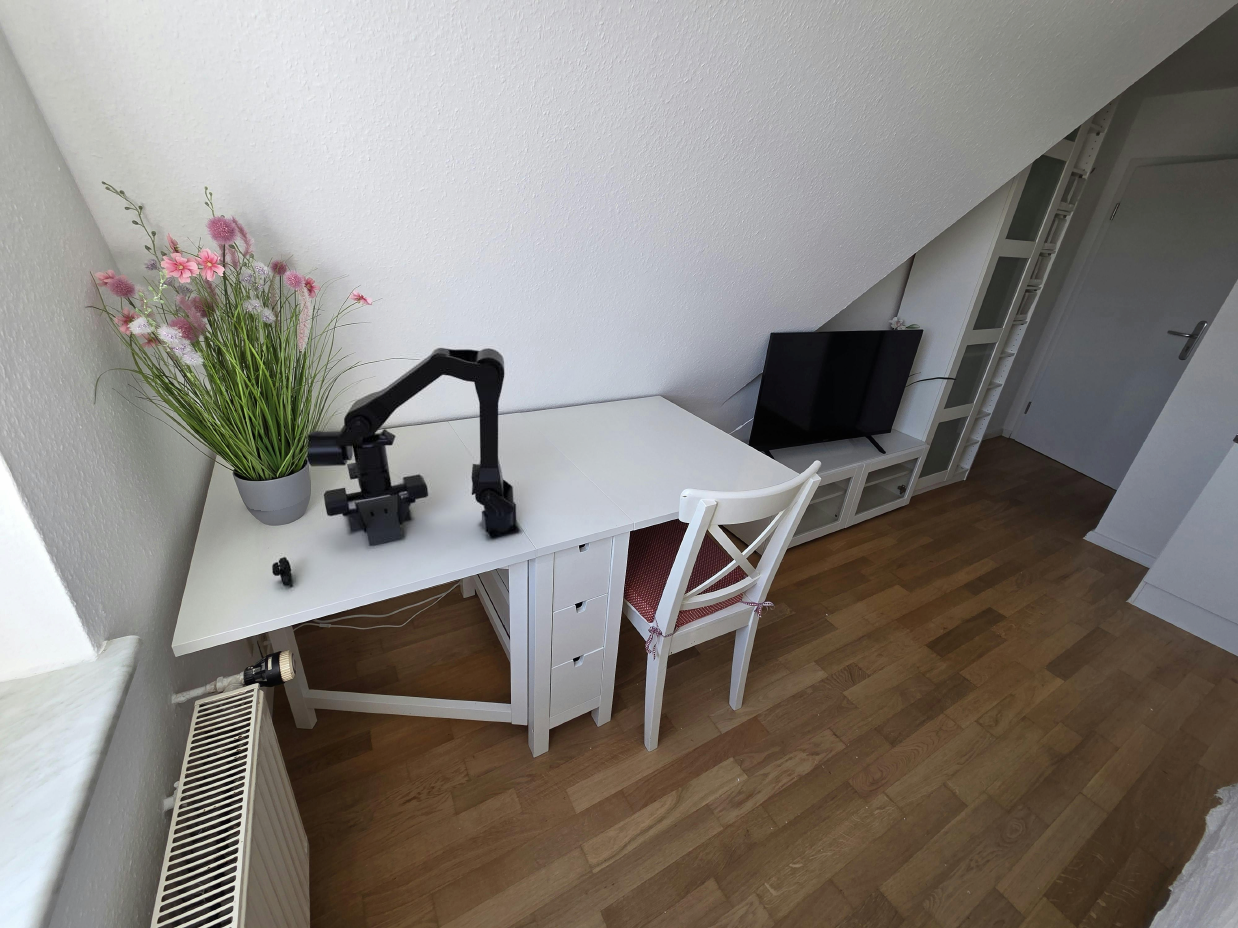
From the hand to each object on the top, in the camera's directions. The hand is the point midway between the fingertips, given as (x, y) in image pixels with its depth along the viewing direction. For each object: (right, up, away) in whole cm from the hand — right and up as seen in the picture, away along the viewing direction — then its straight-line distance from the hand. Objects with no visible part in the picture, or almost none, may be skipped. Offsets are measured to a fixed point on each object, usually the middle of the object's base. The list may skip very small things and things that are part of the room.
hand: (383, 528), depth 108 cm
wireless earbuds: (-12, -9, -14) cm, 20 cm away
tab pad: (-1, -1, +1) cm, 2 cm away
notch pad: (-4, +2, +7) cm, 8 cm away
